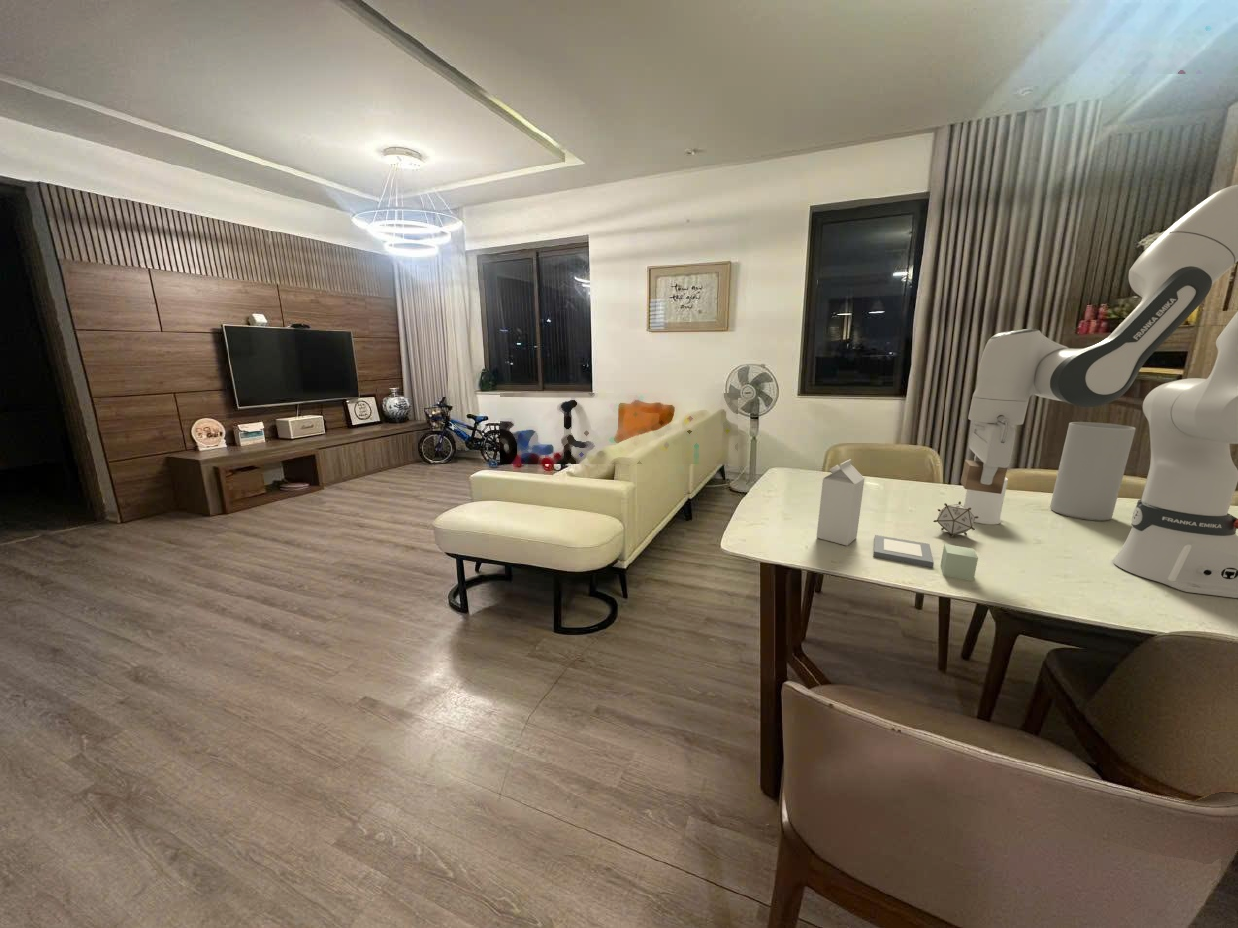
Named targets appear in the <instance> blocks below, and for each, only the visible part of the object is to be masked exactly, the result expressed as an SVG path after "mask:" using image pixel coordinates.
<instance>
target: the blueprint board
mask: <svg viewBox="0 0 1238 928" xmlns="http://www.w3.org/2000/svg"><path fill="white" fill-rule="evenodd" d="M932 554H933V553H932V550H931V545H930V543H925V542H920V541H915V540H914V541H913V540H907V539H903V538H896V537H890V536H884V535H878V534H874V539H873V555H872V556H873V557H874V558H879V559H885V560H891V561H896V562H900V563H906V564H910V565H911V564H912V565H915V566H922V567H928V568H934V563H935V562H934V558H933V557H934V556H933V555H932Z"/></svg>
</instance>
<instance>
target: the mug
mask: <svg viewBox="0 0 1238 928" xmlns="http://www.w3.org/2000/svg"><path fill="white" fill-rule="evenodd" d="M1008 481H1009V479H1008V478H1007V477H1006V476H1005V480H1004V484H1003V489H1002V493H1001V494H998V493H990V492H983V491H975V490H968V489H966V490H965V491H966V492H965V496H964V503H963V506H964V507H965V508H967V509H968V508H971V510H969V511H970V512H971V513H972V514H973V515H974V517H976V516H978V517H979V518H977V519H976V518H975V519H974V523H976V524H981V525H991V526H992V525H994V526H995V525H998V524H999V525H1000V523H1001V515H1002V510H1003V505H1004V501H1005V496H1006V491H1007V486H1008Z"/></svg>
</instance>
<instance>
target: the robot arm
mask: <svg viewBox="0 0 1238 928" xmlns="http://www.w3.org/2000/svg"><path fill="white" fill-rule="evenodd" d="M1237 262H1238V184H1233V185H1230V186H1227V187H1225V188H1224V187H1223V188H1222V189H1220V190H1218V191H1216V192H1214V193H1212V194H1211V195H1210V196H1208V197H1207V198H1206V199H1204V200H1203V201H1201V202H1199V203H1198V204H1197V205H1195V206H1194V207H1193V208H1191V209H1190V210H1188V212H1186V213H1185V214H1184V215H1183V216H1181V217H1180V218H1179V219H1178V220H1176V221H1175V222H1174V223H1173V224H1172V225H1170V226H1169V227H1168V228H1166V230H1165V231H1164V232H1162V234H1161V235H1159V237H1157V238H1156V239H1155V240H1154V241H1153V242H1152V243H1150V245H1149V246H1148V247H1146V249H1145V250H1143V252H1142V253H1140V256H1138V258H1137V259H1136V260H1135V261H1134V262H1133V265H1132V266H1131V268H1130V269H1129V270H1128V282H1129V285H1130V288H1131V290H1133V292H1134V293H1135V294H1137V296H1138V297H1141V298H1142V299H1141V300H1140V302H1139V303H1138V305H1137V306H1136V307H1135V308H1134V309H1133V310H1132V311H1131V312H1130V313H1129V314H1128V316H1127V317H1125V319H1124V320H1123V321H1122V322H1120V324H1118V326H1117V327H1116V328H1115V329H1114V330H1113V331H1112V333H1110V334H1109V335H1108V336H1107V337H1106V338H1105V339H1103V340H1102V341H1100V342H1098V343H1096V344H1093V345H1091V346H1088V347H1087V346H1086V347H1084V348H1072V347H1071V348H1070V347H1068V346H1066V345H1063V344H1060V343H1058V342H1056V341H1054V340H1052V339H1050V338H1048V337H1047V336H1045V335H1044V334H1043V333H1042V332H1041V331H1040V330H1039V329H1036V328H1027V329H1026V328H1025V329H1017V330H1016V329H1015V330H1008V331H1002V332H999V333H996V334H994V335H993V336H991V337H990V338H989V339H988V340H987V343H986V344H985V346H984V350H983V352H982V355H981V359H980V362H979V365H978V368H977V369H978V370H977V375H976V376H977V377H976V378H977V385H976V388H975V390H974V392H973V393H972V396H971V397H972V399H971V402H970V409H969V412H968V416H967V417H968V420H970V427H969V436H968V437H969V438H968V448H969V449H970V451H971V452H972V453H973V454H974V457H973V458H974V460H973V461H980V462H983V463H984V464H983V471H982V474H981V476H980V482H981V483H982V484H987V485H990V484H992V480H993V477H994V475H995V473H996V471H997V469H998V467H1002V468H1005V469H1006V468H1008V466H1009V465H1010V463H1011V459H1012V456H1013V455H1012V454H1013V450H1014V444H1015V438H1016V429H1015V426H1019V425H1024V422H1025V418H1026V414H1027V411H1028V410H1027V409H1028V405H1029V402H1030V398H1031V397H1032V396H1034V395H1035V396H1037V397H1039V398H1044V399H1049V400H1053V401H1060V402H1064V403H1067V404H1071V405H1074V406H1077V407H1081V408H1096V407H1101V406H1106V405H1107V404H1110V403H1112V402H1114V401H1116V400H1118V399H1120V397H1121V396H1123V395H1124V394H1125V393H1126V392H1127V391H1128V390H1129V389H1130V387H1131V386H1132V384H1133V383H1134V381H1135V380H1136V378H1137V376H1138V375H1139V373H1140V370H1141V369H1142V367H1143V366H1144V364H1145V363H1146V362H1147V360H1148V359H1149V358H1150V357H1151V356H1152V355H1153V354H1154V353H1155V352H1156V351H1157V350H1158V348H1160V346H1161V345H1162V344H1163V343H1164V342H1166V340H1168V339H1169V337H1170V336H1171V335H1173V333H1174V332H1175V331H1176V330H1178V328H1179V327H1180V326H1181V325H1182V324H1183V323H1184V322H1185V321H1186V320H1187V319H1188V318H1189V317H1190V316H1191V314H1192V313H1193V312H1195V310H1196V309H1198V307H1199V306H1200V305H1201V304H1202V302H1204V301H1205V298H1206V297H1207V296H1208V294H1209V293H1210V291H1211V290H1212V286H1213V285H1214V284H1215V283H1216V282H1217V280H1219V279H1220V278H1221V277H1222V276H1223V275H1224V274H1225V273H1226V272H1228V271H1229V270H1230V269H1231V268H1232V267H1233V266H1235V265H1236V264H1237ZM1215 346H1216V349H1217V355H1216V360H1215V363H1214V365H1213V367H1212V370H1211V371H1210V374H1209V375H1208V377H1207V378H1198V377H1197V378H1196V377H1194V378H1193V377H1192V378H1191V377H1190V378H1184V379H1178V380H1174V381H1173V380H1172V381H1169V382H1165V383H1162V384H1160V385H1158V386H1157V387H1155V388H1153V389H1152V390H1151V391H1149V392H1148V394H1147V395H1146V396H1145V398H1144V400H1143V403H1142V412H1143V415H1144V416H1145V418H1146V419H1147V422H1148V426H1149V427H1148V428H1149V442H1150V462H1149V463H1150V464H1149V470H1148V474H1147V477H1146V481H1145V484H1144V488H1143V493H1142V496H1141V498H1140V499H1137V503H1136V506H1135V508H1134V510H1133V512H1132V518H1131V529H1130V531H1129V533H1128V536H1127V537H1126V539H1125V541H1124V543H1123V545H1122V546H1121V548H1120V550H1119V551H1118V552H1117V554H1116V555H1115V556H1114V557H1113V558H1112V562H1113V564H1114V565H1116V566H1117V567H1119V568H1120V569H1123V570H1124V571H1126V572H1129V573H1131V574H1134V575H1136V576H1139V577H1142V578H1145V579H1148V580H1151V581H1154V582H1157V583H1161V584H1164V585H1166V586H1169V587H1171V588H1173V589H1176V590H1179V591H1182V592H1186V593H1193V594H1200V595H1210V596H1215V597H1216V596H1219V597H1226V598H1234V599H1238V535H1237V532H1236V531H1237V530H1238V517H1235V516H1234V515H1232V514H1230V513H1229V510H1230V507H1231V505H1232V502H1233V498H1234V495H1235V492H1236V488H1237V485H1238V468H1237V466H1236V465H1235V464H1234V461H1233V459H1232V456H1231V448H1230V444H1232V445H1234V444H1235V445H1238V310H1237V311H1236V312H1235V314H1234V315H1233V317H1232V318H1231V319H1230V321H1229V322H1228V323H1227V324H1226V326H1225V327H1224V329H1223V330H1222V331H1221V333H1220V334H1219V335H1218V337H1217V338H1216V340H1215Z"/></svg>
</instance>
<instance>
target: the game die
mask: <svg viewBox="0 0 1238 928" xmlns="http://www.w3.org/2000/svg"><path fill="white" fill-rule="evenodd" d="M943 505H944V507H943V508H942V509H940V508H938V509H937V511H938V512H939V514H938V516H937V519H936V520H935V519H934V520H933V521H932V522H934V523H938V524H939V526H941V528H940V529H941V530H940V531H946V532H947V533H949V534H950V538H953V537H954V536H955V535H960V534H964V536H967V535H968V533H967V532H969V531H970V530H972V531H976V528H975V527H973V526H974V523H975V522H974V519H975V518H976V519H977V518H979V517H978V516H976V517H974V515H973V514H972V513H971V512H970V511H969V510H971V508H968V509H967V508H965V507H964V505H962V502H961V500H960V501H958V504H957V503H956V504H949V505H948V503H946V502H944V504H943Z"/></svg>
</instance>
